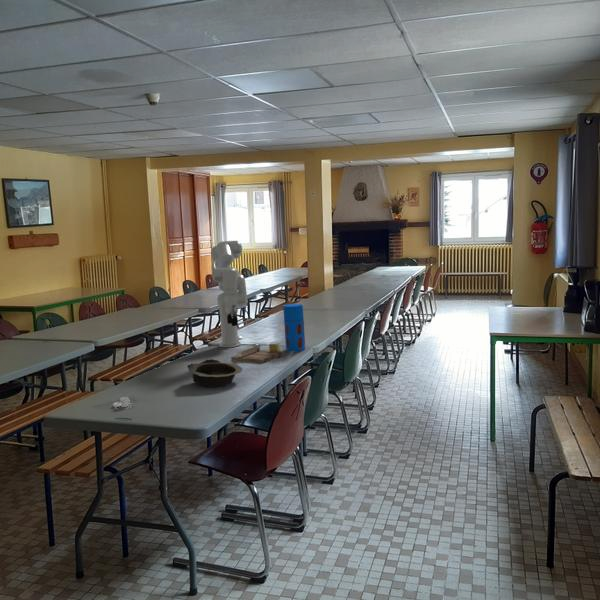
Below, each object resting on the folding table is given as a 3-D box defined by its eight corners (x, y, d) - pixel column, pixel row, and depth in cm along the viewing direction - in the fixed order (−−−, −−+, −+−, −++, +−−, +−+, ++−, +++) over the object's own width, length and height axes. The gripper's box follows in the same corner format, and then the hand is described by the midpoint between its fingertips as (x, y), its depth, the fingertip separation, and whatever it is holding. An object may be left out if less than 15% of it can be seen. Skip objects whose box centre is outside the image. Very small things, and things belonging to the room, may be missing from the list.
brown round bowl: (182, 380, 275) (182, 360, 274) (234, 376, 284) (234, 357, 283) (192, 392, 252) (192, 371, 251) (249, 388, 261) (249, 367, 260)
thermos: (306, 347, 334) (303, 303, 331) (304, 351, 324) (301, 306, 321) (287, 347, 336) (284, 304, 332) (284, 351, 325) (282, 306, 322)
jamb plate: (253, 352, 327) (253, 349, 327) (283, 355, 317) (283, 351, 317) (231, 360, 310) (231, 357, 310) (263, 363, 300) (262, 359, 300)
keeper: (271, 350, 321) (271, 343, 320) (279, 351, 318) (279, 343, 318) (269, 351, 319) (269, 344, 318) (277, 351, 316) (277, 344, 316)
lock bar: (255, 349, 324) (255, 343, 323) (260, 350, 322) (260, 343, 321) (236, 356, 309) (236, 349, 308) (242, 357, 307) (241, 350, 307)
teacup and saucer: (110, 408, 239) (109, 398, 239) (128, 403, 245) (127, 393, 244) (120, 412, 233) (119, 402, 232) (138, 407, 238) (137, 397, 238)
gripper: (219, 291, 319) (221, 323, 322) (227, 294, 303) (230, 327, 305) (233, 290, 322) (235, 321, 324) (241, 292, 306) (244, 326, 308)
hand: (232, 324), depth 315 cm, fingers open, 8 cm apart
